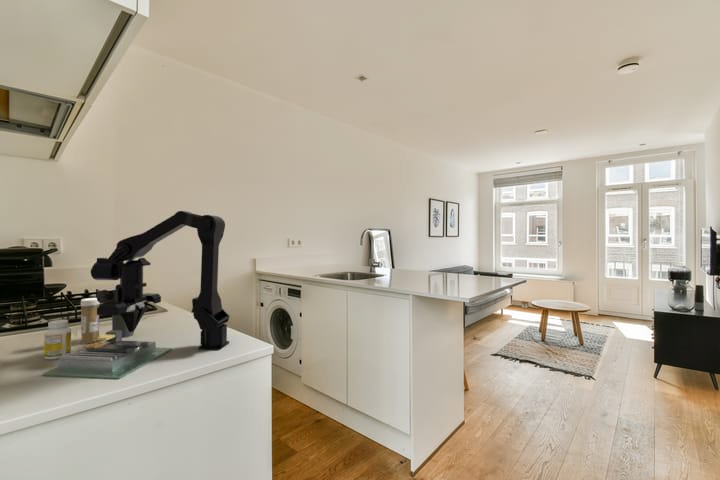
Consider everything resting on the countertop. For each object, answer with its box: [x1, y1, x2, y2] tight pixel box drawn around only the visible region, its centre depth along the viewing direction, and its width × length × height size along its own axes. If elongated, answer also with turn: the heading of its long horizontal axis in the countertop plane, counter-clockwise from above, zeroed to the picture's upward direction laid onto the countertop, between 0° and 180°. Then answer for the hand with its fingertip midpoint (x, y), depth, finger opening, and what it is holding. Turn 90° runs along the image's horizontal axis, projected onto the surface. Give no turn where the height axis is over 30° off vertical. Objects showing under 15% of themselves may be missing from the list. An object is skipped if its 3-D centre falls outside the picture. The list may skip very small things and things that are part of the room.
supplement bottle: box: [43, 319, 72, 360], centre depth 89 cm, size 5×5×10 cm
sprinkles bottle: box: [80, 297, 101, 345], centre depth 101 cm, size 5×5×14 cm
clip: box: [97, 329, 123, 342], centre depth 90 cm, size 3×5×3 cm, turn 177°
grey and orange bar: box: [85, 342, 144, 352], centre depth 85 cm, size 13×3×1 cm, turn 87°
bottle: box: [111, 315, 135, 339], centre depth 107 cm, size 6×6×15 cm
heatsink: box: [43, 339, 173, 380], centre depth 85 cm, size 19×19×4 cm
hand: (131, 331), depth 98 cm, fingers closed
